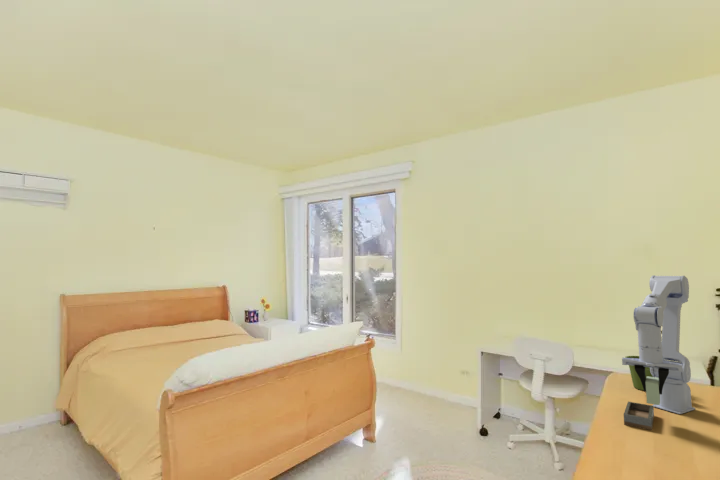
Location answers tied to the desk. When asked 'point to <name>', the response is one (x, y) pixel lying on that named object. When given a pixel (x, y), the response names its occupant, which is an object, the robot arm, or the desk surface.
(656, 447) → the desk surface
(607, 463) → the desk surface
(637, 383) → the plant pot
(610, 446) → the desk surface
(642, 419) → the grey rectangular tray
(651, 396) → the pale green rectangular block
